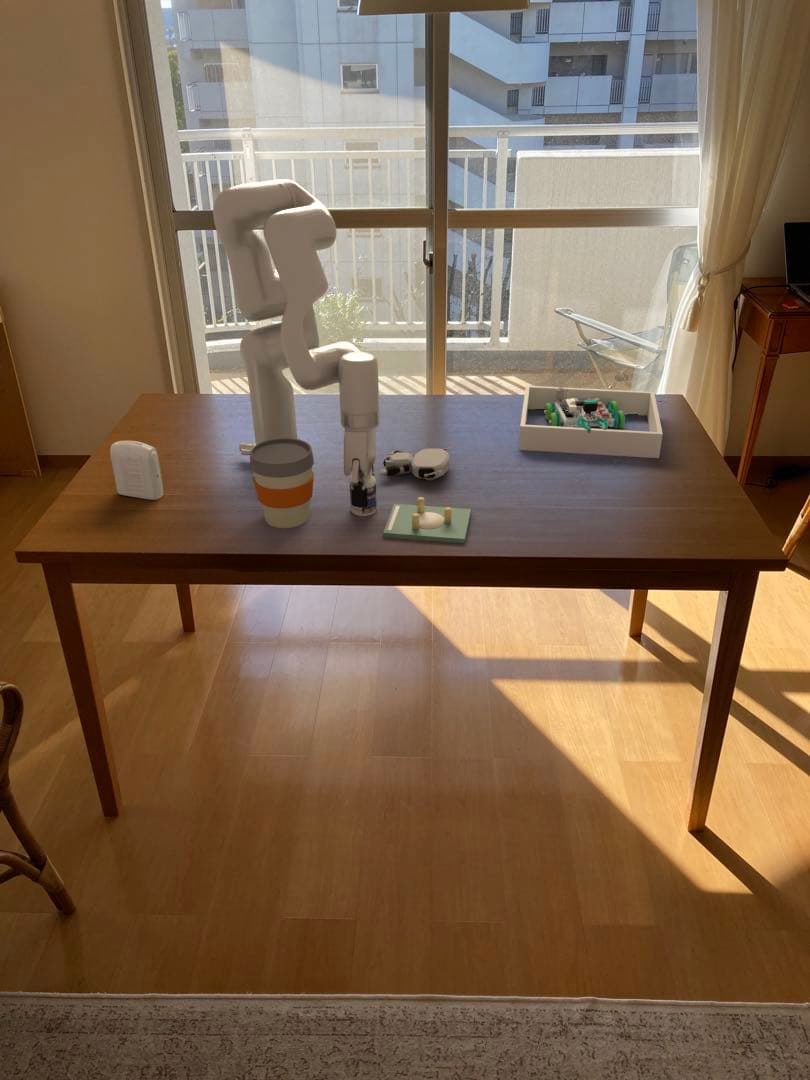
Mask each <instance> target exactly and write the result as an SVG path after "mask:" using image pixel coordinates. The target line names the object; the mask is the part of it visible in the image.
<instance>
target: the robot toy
mask: <svg viewBox="0 0 810 1080" xmlns="http://www.w3.org/2000/svg"><path fill="white" fill-rule="evenodd" d="M451 449H452V448H451V447H447V448H424V449H422V450H421V449H420V451H418V452H417V453H416V454H415V455H414V454H412V453H411V452H404V451H401V450H395V451H394V450H393V451H390V452H389V453H388V456H387V455H386V458H385V459H384V460H383V467H385V469H384V468H383V469H380V470H379V474H380V476H386V475H387V476H388V477H391V476H396V475H397V476H398V475H404V474H410V473H411V472H412V475H414V476H415V477H416V478H418V479H424V480H427V481H433V480H435V479H438V478H441V477H442V476H444V475H445V473H446V472H448V470H449V469H450V466H451V465H450V462H451V461H450V454H449V452H447V451H450V450H451Z"/></svg>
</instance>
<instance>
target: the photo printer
mask: <svg viewBox="0 0 810 1080" xmlns="http://www.w3.org/2000/svg"><path fill="white" fill-rule="evenodd" d="M109 449H110V451H109V454H110V460H111V465H112V470H113V471H112V472H113V475H114V480H115V486H116V491H117V494H119V495H122V496H126V497H127V496H128V497H133V498H139V499H144V500H152V501H153V500H154V501H157V500H160V499H161V498H162V497H163V495H164V486H163V485H164V484H163V480H162V478H163V477H162V472H161V466H160V460H159V453H158V451H157V449H156V448H155V447H154V446H152V445H149V444H146V443H144V442H141V441H137V440H136V441H135V440H120V441H119V440H118V441H115V442H113V444H111V446H110V448H109Z"/></svg>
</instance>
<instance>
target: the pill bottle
mask: <svg viewBox="0 0 810 1080" xmlns="http://www.w3.org/2000/svg"><path fill="white" fill-rule="evenodd" d="M359 474H363V472H360V471H359ZM359 481H361V482H362V478H359ZM366 488H367V491H368V506H367V507H358V506H353V505H352V494H351V478H350V479H349V497H350V499H349V500H350V511H351V513H352V514H354V515H356V516H358V517H367V516H372V515H374V514H375V513H376V511H377V510H378V509H377V507H378V506H377V505H378V504H377V480H376V477H375V475H374V476H372V469H371V471H370V473H369V475H368V476H367V477H366Z"/></svg>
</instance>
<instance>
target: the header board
mask: <svg viewBox="0 0 810 1080" xmlns="http://www.w3.org/2000/svg"><path fill="white" fill-rule="evenodd" d="M416 499H417V500H416V501H417V502H416V503H417V505H416V504H403V503H393V505H392V509H391V511H390V514H389V517H388V519H387V522H386V524H385V527H384V529H383V535H382V536H383V538H391V539H404V540H416V541H417V540H419V541H428V542H429V541H431V542H439V543H440V542H444V543H452V544H453V543H456V544H465V543H466V538H467V534H468V528H469V525H470V520H471V515H472V509H471V508H462V507H461V508H459V507H449V506H447V507H446V506H445V507H444V506H433V505H431V506H430V505H425V498H424V497H422V496H418V497H417V498H416Z"/></svg>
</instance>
